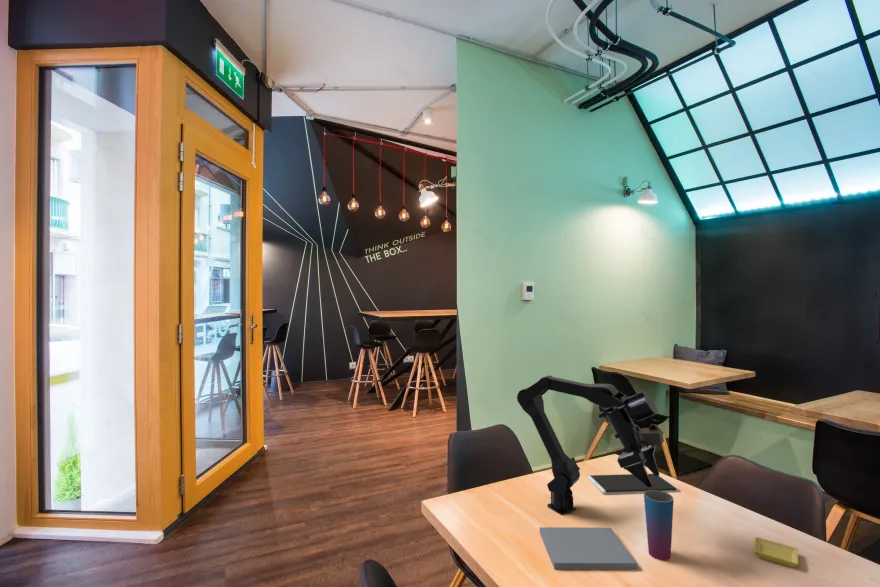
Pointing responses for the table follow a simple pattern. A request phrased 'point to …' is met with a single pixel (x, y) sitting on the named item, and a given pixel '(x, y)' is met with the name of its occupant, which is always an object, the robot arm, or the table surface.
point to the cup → (659, 523)
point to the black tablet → (629, 484)
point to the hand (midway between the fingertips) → (654, 480)
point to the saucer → (776, 552)
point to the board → (585, 548)
